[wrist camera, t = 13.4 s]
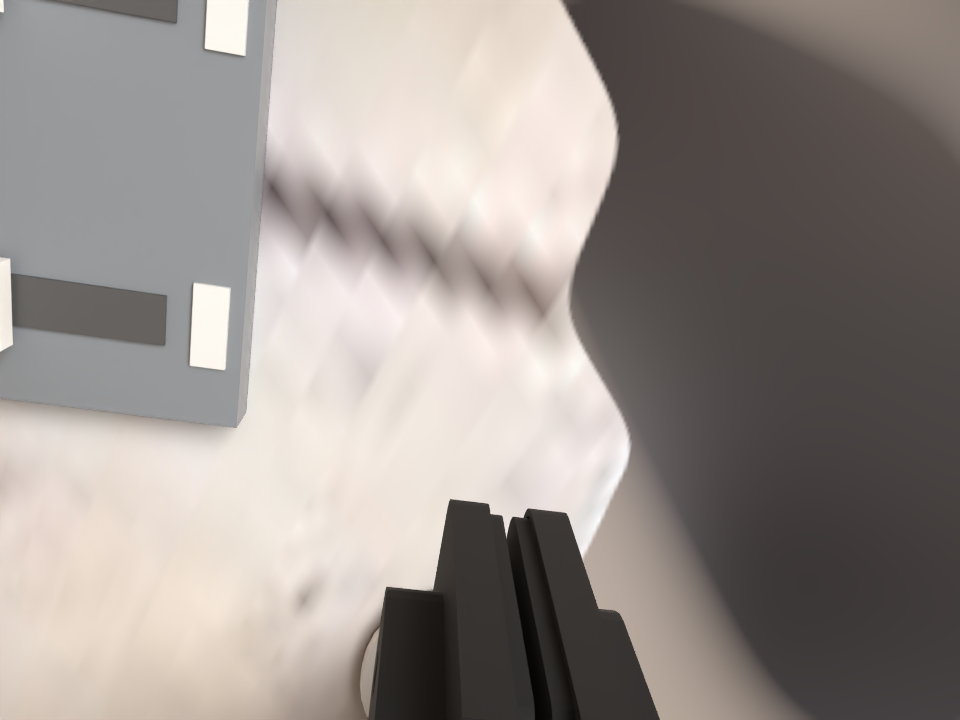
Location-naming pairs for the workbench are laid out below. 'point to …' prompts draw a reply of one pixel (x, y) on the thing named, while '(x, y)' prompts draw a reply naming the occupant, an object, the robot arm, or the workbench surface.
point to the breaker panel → (133, 201)
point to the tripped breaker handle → (5, 304)
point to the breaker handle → (1, 6)
